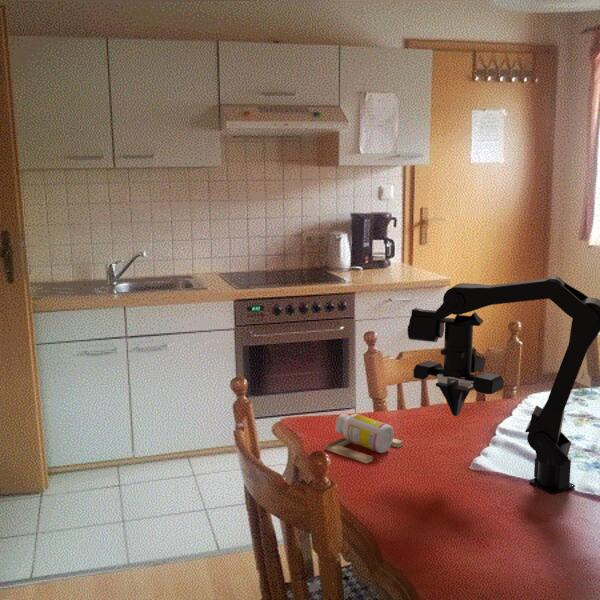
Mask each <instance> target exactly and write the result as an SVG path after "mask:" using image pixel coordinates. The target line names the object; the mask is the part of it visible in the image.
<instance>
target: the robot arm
mask: <svg viewBox="0 0 600 600" xmlns="http://www.w3.org/2000/svg"><path fill="white" fill-rule="evenodd" d="M538 300H540V301H541V300H550V301H551V302H553V303H554V305H556V306H557V307H558V308H559V309H560V310H561V311H562V312H564V314H566V315H567V316H568V317H570V318H571V320H572V321H571V325H570V330H569V331H570V332H569V333H570V334H569V340H568V345H567V347H566V350H565V353H564V356H563V358H562V361H561V363H560V366H559V368H558V371H557V373H556V376H555V379H554V382H553V384H552V387H551V390H550V393H549V395H548V398H547V400H546V402H545V404H544V405H543V406H542V407H540V405H539V406H538V405H537V404H536V405H535V407H534V409H533V411H532V413H531V417H530V421H529V422H528V425H527V426H526V429H525V430H524V432H525V433H527V436H526V441H527V444H528V445H529V447H530V448H531V449H532V450H533V451H534V452H535V455H536V457H535V458H534V468H533V469H534V471H533V472H534V473H533V477H534V478H530V479H528V483H530V484H532V485H534V486H535V487H538V488H539V489H542V490H543V491H545V492H548V493H549V494H552V495H553V494H557V493H558V494H559V493H561V492H564V491H569V490H571V489H570V488H572V487H576V484H574V483H571V482H570V480H571V469H572V468H571V467H572V466H571V465H572V460H571V459H570V458H569V451H570V448H571V446H572V441H570V439H568V437H567V436H566V435H565V434H564V433H563V432H562V428H563V422H564V415H565V410H566V405H567V403H568V400H569V399H570V395H571V393H572V390H573V388H574V385H575V383H576V380H577V378H578V375H579V373H580V370H581V366H582V365H583V362H584V359H585V358H586V354H587V352H588V350H589V348H590V347H591V345H592V344H593V343H594V341H595V339H597V336H598V335H599V334H600V299H599V298H597V297H596V298H595V297H589V296H587V294H585V293H583V292H582V291H580V290H579V289H576V288H575V287H573V286H572V285H570V284H568V283H566V282H565V281H564V280H563V278H561V277H560V276H550V277H547V278H539V279H533V280H525V281H524V280H523V281H517V282H508V283H502V284H501V283H500V284H493V285H491V284H481V283H471V282H469V283H468V282H467V283H466V282H463V283H462V282H460V283H457V284H455V285H454V286H451V287H450V288H448V289H447V290H446V291H445V292H444V295H443V299H442V301H443V302H442V304H441V305H440V306H439V307H438V308H436V310H432V309H431V310H430V309H423V308H417V307H416V308H415V307H414V308H413V309H411V315H410V318H409V323H408V326H407V337H408V339H409V340H410V341H419V342H430V343H431V342H432V343H437V342H438V341H439V339H442V338H443V336H444V344H443V345H444V346H443V348H442V349H440V355H442V356H443V365H442V364H441V362H437V361H432V360H426V361H425V360H424V361H423V362H420V363H417V364H415V366H414V367H413V369H412V370H413V372H412V378H415V379H419V380H426V379H428V378H429V376H432V377H437V382H436V383H435V387H436V388H437V387H438V388H439V390H440V391H441V393H442V395H443V397H444V398H445V399H444V400H446V403H447V406H448V407H449V409H450V411H451V413H452V416H454V417H458V416H460V414H461V411H462V409H463V406H464V403H465V401H466V400H467V397H468V395H469V393H470V392H471V391H472V390H475V392H476V393H481V394H485V395H492V394H495V393H497V392H499V391H501V390H504V388H505V386H504V385H505V380H504V378H503V377H502V375H501V374H496V373H491V372H484V370H485V366H486V361H487V358H486V357H484V356H480V355H477V354H476V347H473V336H474V327H480V326H481V325H482V324H483V323H484V320H483V318H481V317H480V316H479V315H478V313H477V312H476V310H479V309H483V308H485V307H489V306H495V305H501V304H502V305H503V304H512V303H520V302H521V303H522V302H530V301H538ZM474 311H475V312H474ZM472 312H473V313H472ZM467 313H472V314H471V315H465V314H467ZM451 315H454V316H455V317H449V316H451ZM477 372H480V373H482V374H480V375H475V373H477ZM473 373H474V375H473ZM572 485H573V486H572ZM572 489H573V488H572Z"/></svg>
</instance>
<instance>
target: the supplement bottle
mask: <svg viewBox="0 0 600 600" xmlns="http://www.w3.org/2000/svg"><path fill="white" fill-rule="evenodd" d="M334 426H335V427H334V428H335V431H336V432H337V433H338V434H340V435H343V436H344V437H345V438H346V439H347V440H348V441H350V442H353V444H355V445H358V446H361V447H363V448H365V449H368V450H371V451H374V452H376V453H380V454H384V453H386V452H387V451H388V450H389V449H390V447H392V446H391V443H392V441H393V438H394V435H395V433H394V429H393V426H391V425H390V424H387V423H385V422H382V421H379V420H375V419H373V418H369V417H367V416H364V415H363V414H362V415H361V414H360V413H359V414H358V413H353V414H351V415H349V414H346V413H341V414H339V416H338V417H337V419H336V421H335V425H334ZM344 437H343V438H344Z"/></svg>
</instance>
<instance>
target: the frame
mask: <svg viewBox="0 0 600 600" xmlns="http://www.w3.org/2000/svg"><path fill="white" fill-rule="evenodd" d="M351 444H352V442H350V441H348V440H347V439H346V438H345V437H342V438H339V439H338V440H334V441H331V442H330V443H328V444H326V445H325V446H324V448H325V450H326V451H328V452H332V453H335V454H338V455H340V456H343V457H345V458H350V459H353V460H356V461H358V462H362V463H364V464H368V463H370V462H371V463H372V462H373V456H372V455H369V454H365V453H364V452H359V451H356V450H353V449H351V448H348V447H345V446H348V445H351ZM403 446H404V441H403V440H400V439H396V438H394V437H393V441H392V443H391V446H390V447H395V448H397V449H398V448H400V447H403Z"/></svg>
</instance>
